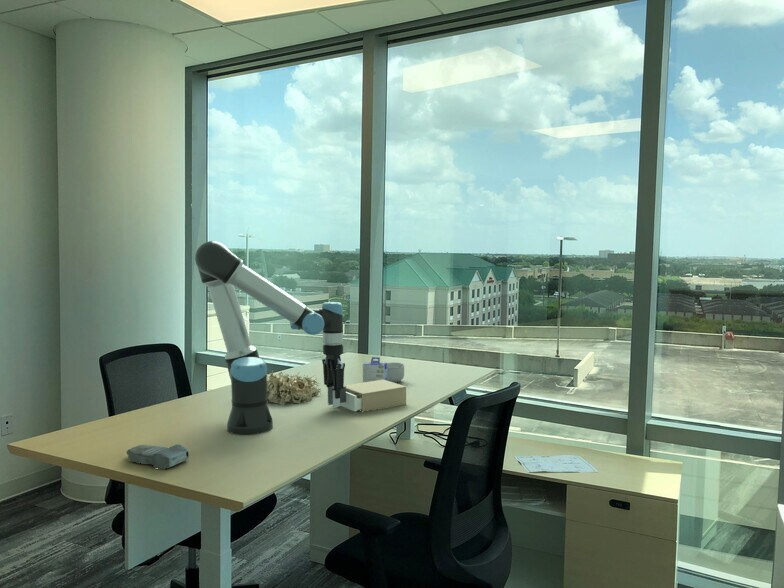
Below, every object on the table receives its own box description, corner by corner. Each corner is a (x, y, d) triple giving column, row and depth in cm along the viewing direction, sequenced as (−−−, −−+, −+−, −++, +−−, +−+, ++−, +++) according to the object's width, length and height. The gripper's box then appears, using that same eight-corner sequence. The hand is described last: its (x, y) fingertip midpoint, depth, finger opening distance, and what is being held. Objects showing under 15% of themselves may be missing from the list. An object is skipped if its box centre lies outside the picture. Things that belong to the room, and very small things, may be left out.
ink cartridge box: (388, 390, 261) (387, 357, 260) (385, 393, 255) (385, 359, 254) (365, 389, 263) (365, 356, 262) (362, 392, 257) (362, 358, 256)
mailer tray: (340, 414, 221) (340, 391, 220) (320, 405, 234) (319, 384, 233) (399, 403, 236) (399, 382, 235) (376, 395, 249) (376, 375, 248)
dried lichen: (299, 408, 233) (299, 379, 232) (232, 402, 243) (231, 374, 242) (328, 393, 258) (328, 366, 257) (266, 388, 268) (266, 362, 267)
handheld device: (140, 452, 183) (139, 437, 183) (192, 461, 175) (192, 445, 175) (114, 462, 174) (113, 446, 174) (168, 472, 167) (167, 456, 166)
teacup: (409, 382, 277) (409, 365, 276) (389, 385, 271) (389, 367, 270) (391, 377, 288) (391, 360, 288) (372, 380, 282) (372, 363, 282)
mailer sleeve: (362, 412, 226) (362, 393, 226) (341, 403, 239) (341, 385, 239) (406, 404, 238) (406, 386, 237) (383, 396, 251) (383, 379, 250)
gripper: (353, 345, 222) (353, 408, 224) (331, 340, 235) (332, 399, 237) (335, 347, 218) (335, 411, 219) (313, 341, 231) (314, 402, 233)
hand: (333, 405), depth 228 cm, fingers closed on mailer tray, 3 cm apart
